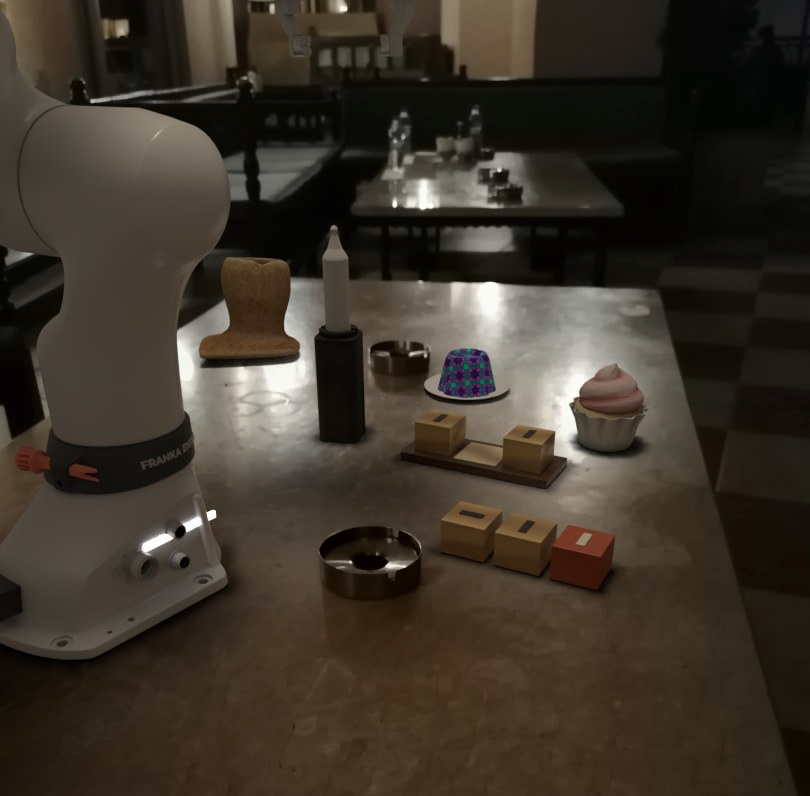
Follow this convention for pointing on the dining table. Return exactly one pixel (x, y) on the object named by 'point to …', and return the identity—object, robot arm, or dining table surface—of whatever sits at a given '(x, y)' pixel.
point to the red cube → (582, 557)
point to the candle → (339, 354)
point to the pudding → (467, 377)
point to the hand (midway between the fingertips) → (345, 57)
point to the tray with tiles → (485, 450)
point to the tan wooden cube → (524, 543)
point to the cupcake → (608, 410)
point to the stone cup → (253, 311)
